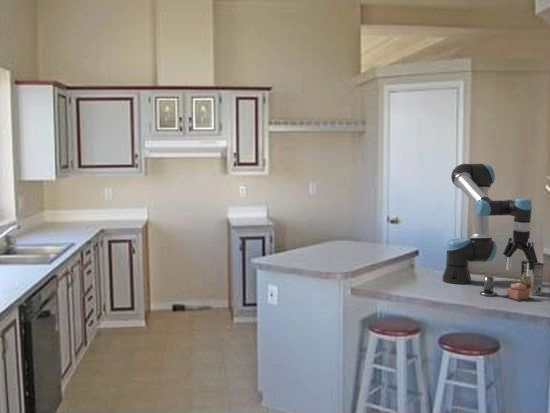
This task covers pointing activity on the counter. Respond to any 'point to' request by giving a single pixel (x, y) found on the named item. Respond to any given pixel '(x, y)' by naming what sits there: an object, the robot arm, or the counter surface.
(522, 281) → the coffee box
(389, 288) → the counter surface
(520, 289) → the cap
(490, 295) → the post
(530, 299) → the dark grey square plate
